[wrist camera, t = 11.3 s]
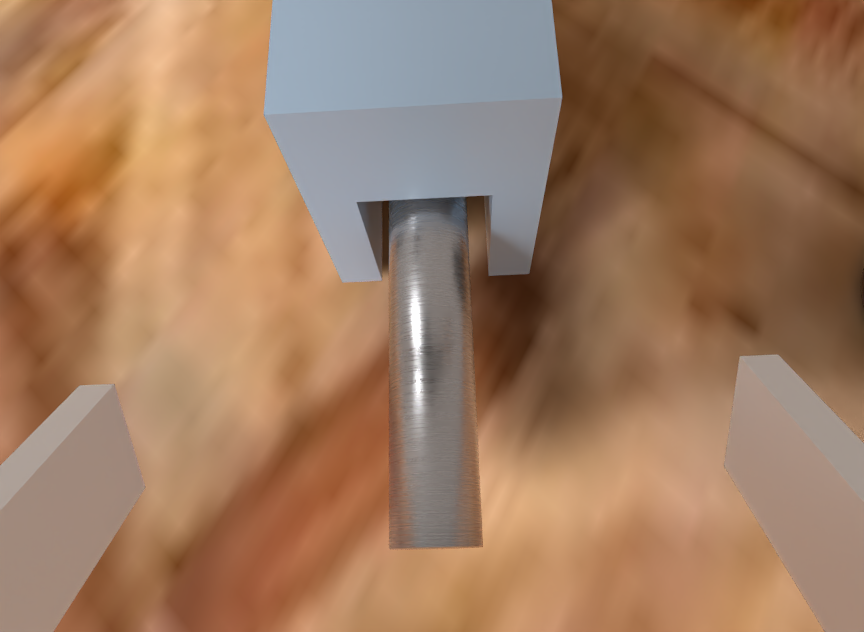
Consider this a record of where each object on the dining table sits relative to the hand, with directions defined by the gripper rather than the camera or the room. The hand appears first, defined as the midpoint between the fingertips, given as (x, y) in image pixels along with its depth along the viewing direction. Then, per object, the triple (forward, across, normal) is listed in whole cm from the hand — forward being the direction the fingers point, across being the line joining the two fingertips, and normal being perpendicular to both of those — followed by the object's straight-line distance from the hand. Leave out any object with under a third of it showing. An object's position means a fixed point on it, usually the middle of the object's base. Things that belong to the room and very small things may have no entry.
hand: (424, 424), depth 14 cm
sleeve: (+13, 0, +1) cm, 13 cm away
